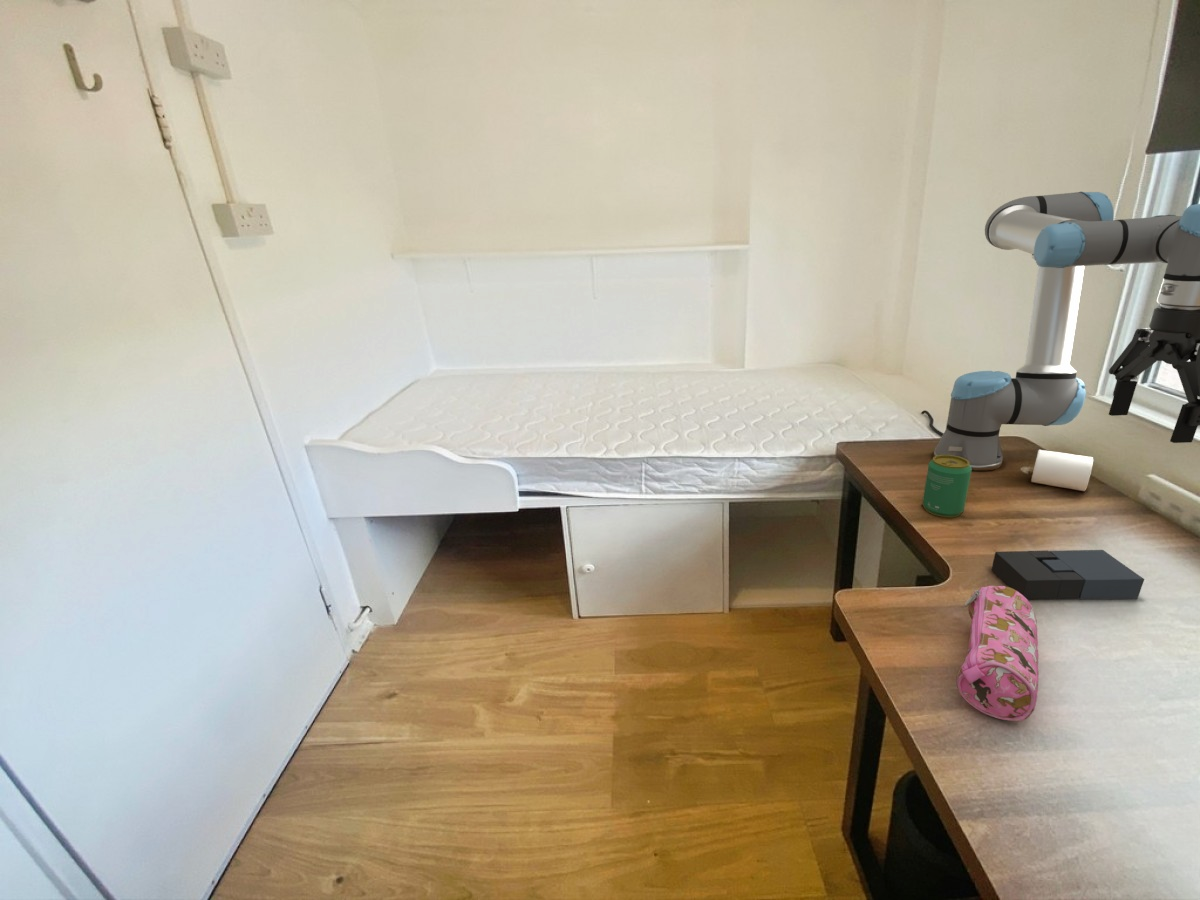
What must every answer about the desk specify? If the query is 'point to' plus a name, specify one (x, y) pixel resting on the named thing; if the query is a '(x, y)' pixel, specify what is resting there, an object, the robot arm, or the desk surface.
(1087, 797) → the desk surface
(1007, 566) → the black u-shaped block
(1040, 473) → the white cylinder on side
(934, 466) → the beverage can
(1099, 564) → the grey block
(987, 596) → the pencil case
